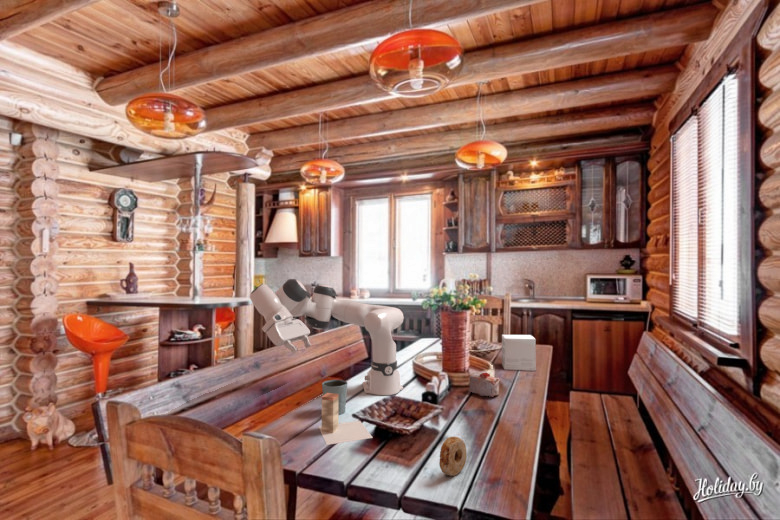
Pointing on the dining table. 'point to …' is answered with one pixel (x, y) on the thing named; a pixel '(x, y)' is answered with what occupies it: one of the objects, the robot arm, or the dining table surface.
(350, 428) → the felt mat
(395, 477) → the dining table surface
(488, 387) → the food item
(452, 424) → the dining table surface
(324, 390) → the grey green cup
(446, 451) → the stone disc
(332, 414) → the birch block
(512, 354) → the supplement box
